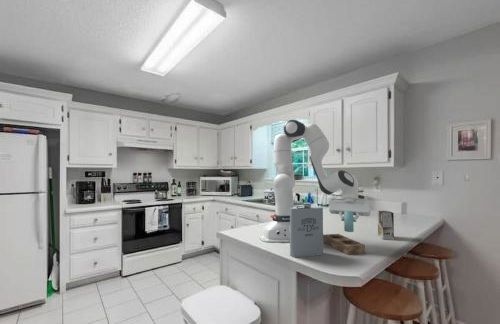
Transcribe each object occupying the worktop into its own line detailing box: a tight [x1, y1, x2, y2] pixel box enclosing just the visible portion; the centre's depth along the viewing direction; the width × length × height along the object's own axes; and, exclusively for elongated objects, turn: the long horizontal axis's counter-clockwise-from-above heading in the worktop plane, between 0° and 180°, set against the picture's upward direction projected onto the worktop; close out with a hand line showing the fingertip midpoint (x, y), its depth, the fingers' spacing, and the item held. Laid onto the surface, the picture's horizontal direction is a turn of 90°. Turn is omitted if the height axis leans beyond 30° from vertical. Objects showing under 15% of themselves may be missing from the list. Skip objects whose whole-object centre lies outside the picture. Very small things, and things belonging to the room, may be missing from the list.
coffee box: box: [377, 210, 395, 241], centre depth 144 cm, size 9×6×16 cm
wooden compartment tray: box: [323, 233, 366, 255], centre depth 125 cm, size 10×22×4 cm, turn 13°
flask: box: [289, 202, 324, 258], centre depth 113 cm, size 17×5×25 cm, turn 107°
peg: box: [343, 211, 355, 233], centre depth 120 cm, size 4×4×10 cm
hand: (348, 220), depth 120 cm, fingers closed on peg, 4 cm apart
